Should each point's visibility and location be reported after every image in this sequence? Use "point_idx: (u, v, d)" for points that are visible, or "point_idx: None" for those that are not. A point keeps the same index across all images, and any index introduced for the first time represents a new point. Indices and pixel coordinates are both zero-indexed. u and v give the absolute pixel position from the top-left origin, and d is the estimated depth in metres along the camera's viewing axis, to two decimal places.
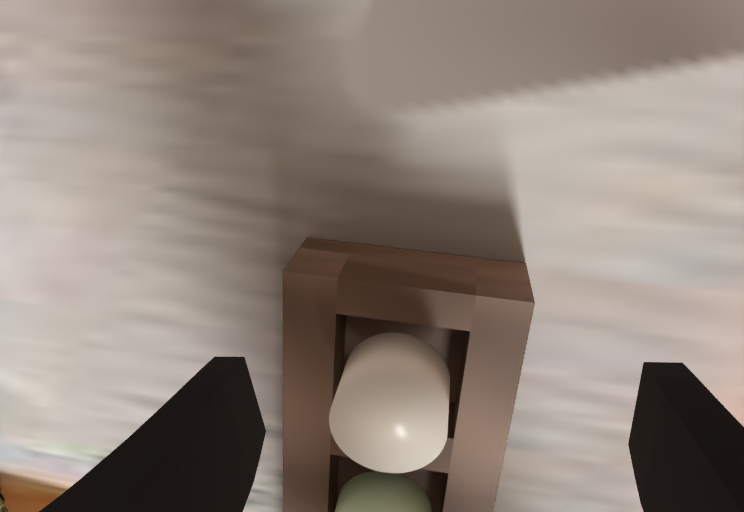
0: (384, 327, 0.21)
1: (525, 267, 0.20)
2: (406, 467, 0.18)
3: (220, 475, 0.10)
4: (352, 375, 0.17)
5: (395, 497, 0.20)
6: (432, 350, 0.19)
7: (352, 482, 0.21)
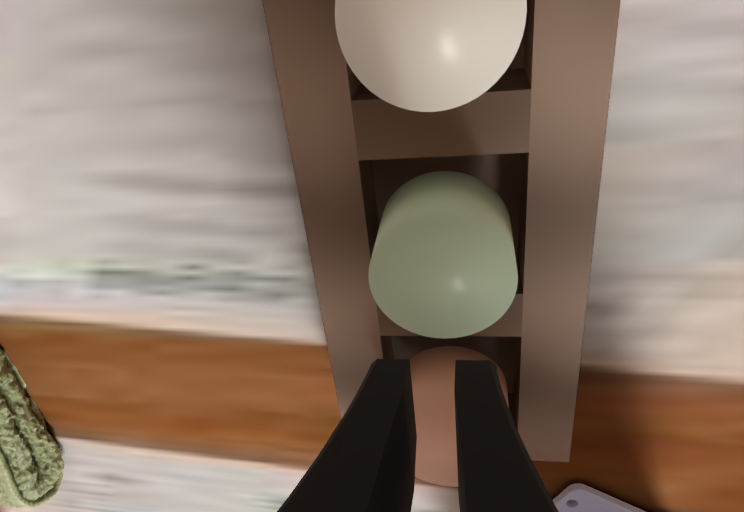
0: None
1: None
2: (467, 93, 0.11)
3: (400, 484, 0.09)
4: None
5: (457, 190, 0.14)
6: None
7: (395, 194, 0.15)
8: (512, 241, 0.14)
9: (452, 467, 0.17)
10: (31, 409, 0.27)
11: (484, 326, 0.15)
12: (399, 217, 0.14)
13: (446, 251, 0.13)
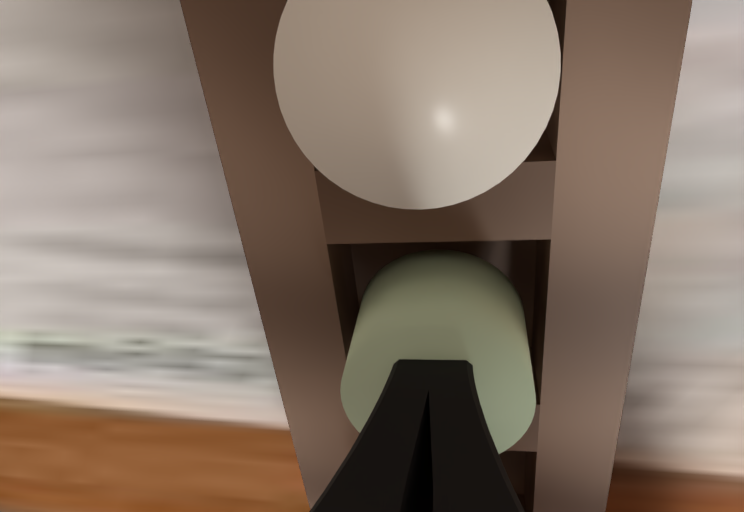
0: None
1: None
2: (470, 185, 0.08)
3: (425, 485, 0.09)
4: None
5: (456, 281, 0.11)
6: None
7: (377, 278, 0.12)
8: (527, 347, 0.11)
9: None
10: None
11: None
12: (380, 320, 0.10)
13: None
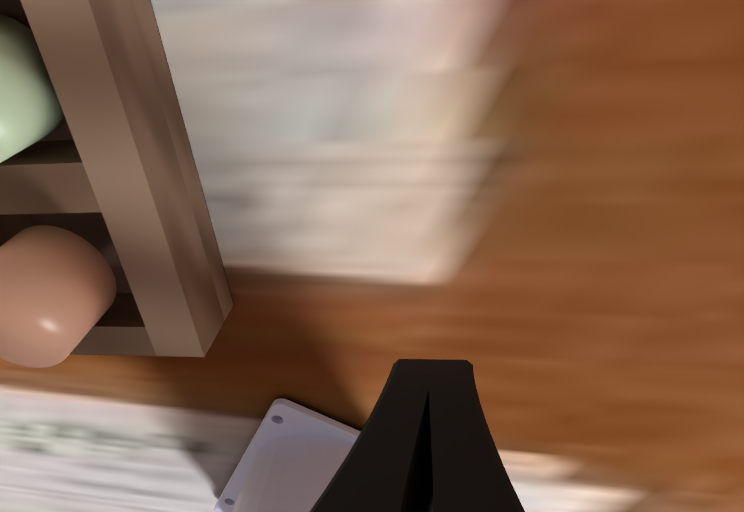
0: None
1: None
2: None
3: (425, 485, 0.09)
4: None
5: None
6: None
7: None
8: (20, 71, 0.15)
9: (26, 344, 0.17)
10: None
11: (5, 157, 0.15)
12: None
13: None
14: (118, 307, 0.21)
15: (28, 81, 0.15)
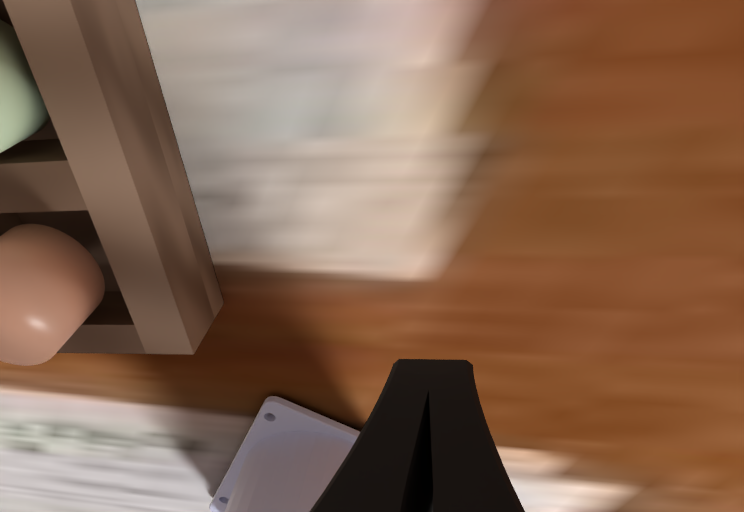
0: None
1: None
2: None
3: (425, 485, 0.09)
4: None
5: None
6: None
7: None
8: (3, 69, 0.15)
9: (14, 342, 0.17)
10: None
11: None
12: None
13: None
14: (108, 305, 0.21)
15: (12, 79, 0.15)
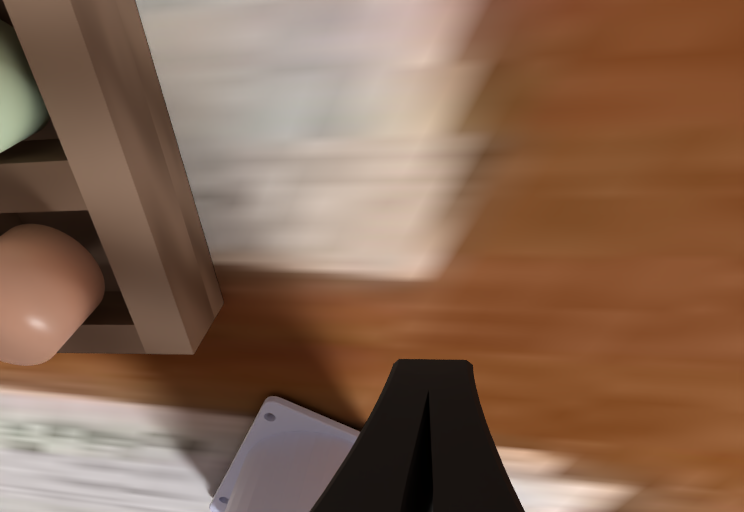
0: None
1: None
2: None
3: (425, 485, 0.09)
4: None
5: None
6: None
7: None
8: (3, 69, 0.15)
9: (14, 342, 0.17)
10: None
11: None
12: None
13: None
14: (108, 305, 0.21)
15: (12, 79, 0.15)
